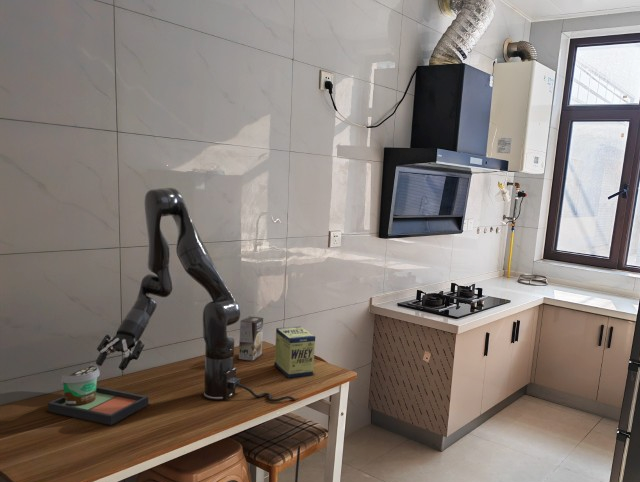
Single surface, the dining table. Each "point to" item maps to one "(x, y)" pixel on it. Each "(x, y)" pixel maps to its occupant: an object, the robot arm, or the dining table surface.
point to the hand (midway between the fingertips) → (109, 366)
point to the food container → (81, 386)
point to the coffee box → (250, 338)
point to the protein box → (294, 351)
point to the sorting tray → (102, 406)
